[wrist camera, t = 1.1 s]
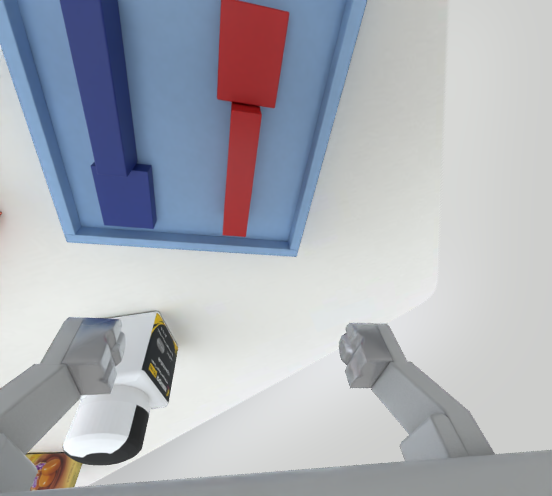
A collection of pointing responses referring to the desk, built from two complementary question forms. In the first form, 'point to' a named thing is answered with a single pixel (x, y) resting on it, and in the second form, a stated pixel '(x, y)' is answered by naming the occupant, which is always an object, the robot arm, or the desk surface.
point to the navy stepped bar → (109, 113)
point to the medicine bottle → (126, 395)
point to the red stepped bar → (247, 94)
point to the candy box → (54, 471)
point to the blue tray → (185, 118)
